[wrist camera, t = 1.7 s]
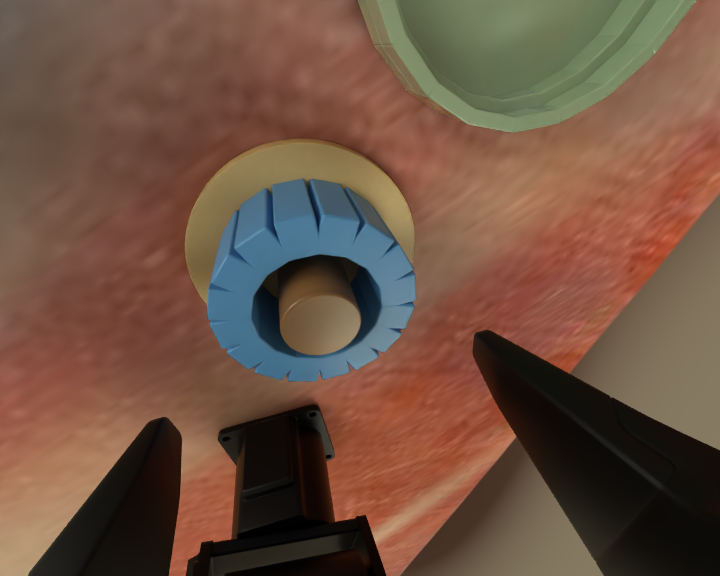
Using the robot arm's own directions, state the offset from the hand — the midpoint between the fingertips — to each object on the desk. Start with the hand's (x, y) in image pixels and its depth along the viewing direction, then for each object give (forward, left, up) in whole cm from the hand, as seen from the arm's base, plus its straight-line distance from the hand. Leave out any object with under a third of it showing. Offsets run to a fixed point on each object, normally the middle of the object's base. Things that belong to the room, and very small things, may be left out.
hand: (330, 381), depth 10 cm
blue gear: (0, 0, -7) cm, 7 cm away
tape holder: (0, 0, -8) cm, 8 cm away
